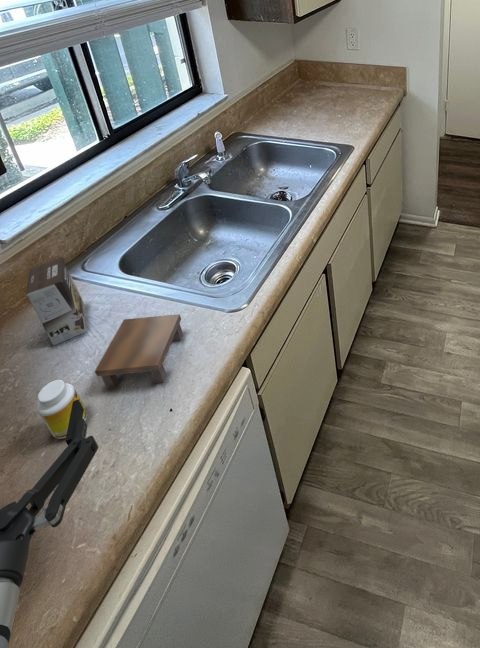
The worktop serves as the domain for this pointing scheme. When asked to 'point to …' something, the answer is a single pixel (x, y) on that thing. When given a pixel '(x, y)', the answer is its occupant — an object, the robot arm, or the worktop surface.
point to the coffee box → (56, 300)
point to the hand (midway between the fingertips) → (26, 425)
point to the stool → (140, 348)
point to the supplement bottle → (57, 406)
